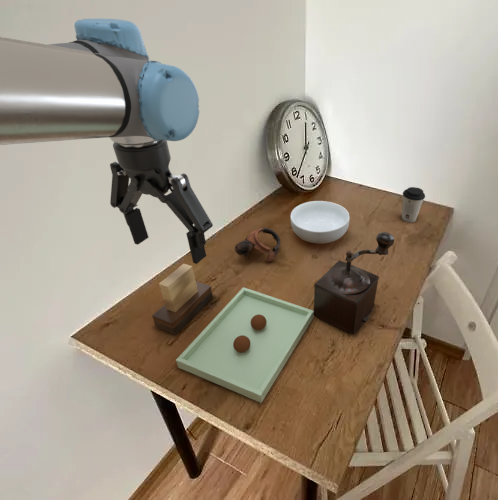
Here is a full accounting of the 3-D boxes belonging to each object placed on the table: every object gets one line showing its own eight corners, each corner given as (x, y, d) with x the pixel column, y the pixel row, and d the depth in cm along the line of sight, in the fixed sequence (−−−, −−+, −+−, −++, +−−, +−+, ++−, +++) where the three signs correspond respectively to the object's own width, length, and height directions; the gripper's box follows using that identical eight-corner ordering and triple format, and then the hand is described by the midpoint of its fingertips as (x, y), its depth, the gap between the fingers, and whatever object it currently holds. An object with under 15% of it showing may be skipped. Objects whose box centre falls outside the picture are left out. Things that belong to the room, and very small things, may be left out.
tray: (261, 403, 61) (260, 395, 60) (178, 367, 65) (175, 359, 64) (313, 318, 77) (313, 310, 76) (244, 294, 82) (243, 287, 81)
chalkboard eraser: (175, 335, 71) (163, 297, 65) (155, 327, 73) (142, 289, 66) (213, 297, 81) (205, 261, 74) (195, 291, 82) (186, 254, 76)
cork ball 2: (261, 335, 72) (260, 325, 70) (248, 330, 72) (246, 319, 71) (269, 324, 74) (269, 314, 72) (256, 320, 75) (255, 309, 73)
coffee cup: (406, 226, 111) (412, 197, 105) (393, 215, 116) (398, 187, 110) (424, 221, 114) (430, 193, 108) (410, 211, 119) (416, 184, 113)
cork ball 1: (245, 358, 67) (243, 347, 65) (230, 352, 68) (228, 341, 66) (254, 346, 70) (253, 335, 68) (240, 340, 70) (238, 329, 68)
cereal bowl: (305, 215, 112) (305, 195, 108) (355, 228, 108) (357, 207, 104) (280, 243, 99) (279, 222, 95) (335, 258, 95) (337, 237, 91)
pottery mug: (260, 240, 101) (272, 221, 96) (276, 266, 98) (290, 249, 93) (222, 247, 92) (234, 227, 87) (239, 277, 89) (252, 258, 84)
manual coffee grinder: (355, 337, 74) (365, 271, 63) (312, 315, 78) (313, 249, 67) (386, 295, 85) (399, 232, 74) (346, 277, 89) (353, 216, 78)
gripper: (222, 146, 54) (237, 256, 67) (99, 119, 60) (134, 224, 73) (189, 163, 48) (212, 280, 61) (57, 131, 55) (102, 243, 67)
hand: (170, 249), depth 67 cm, fingers open, 13 cm apart
